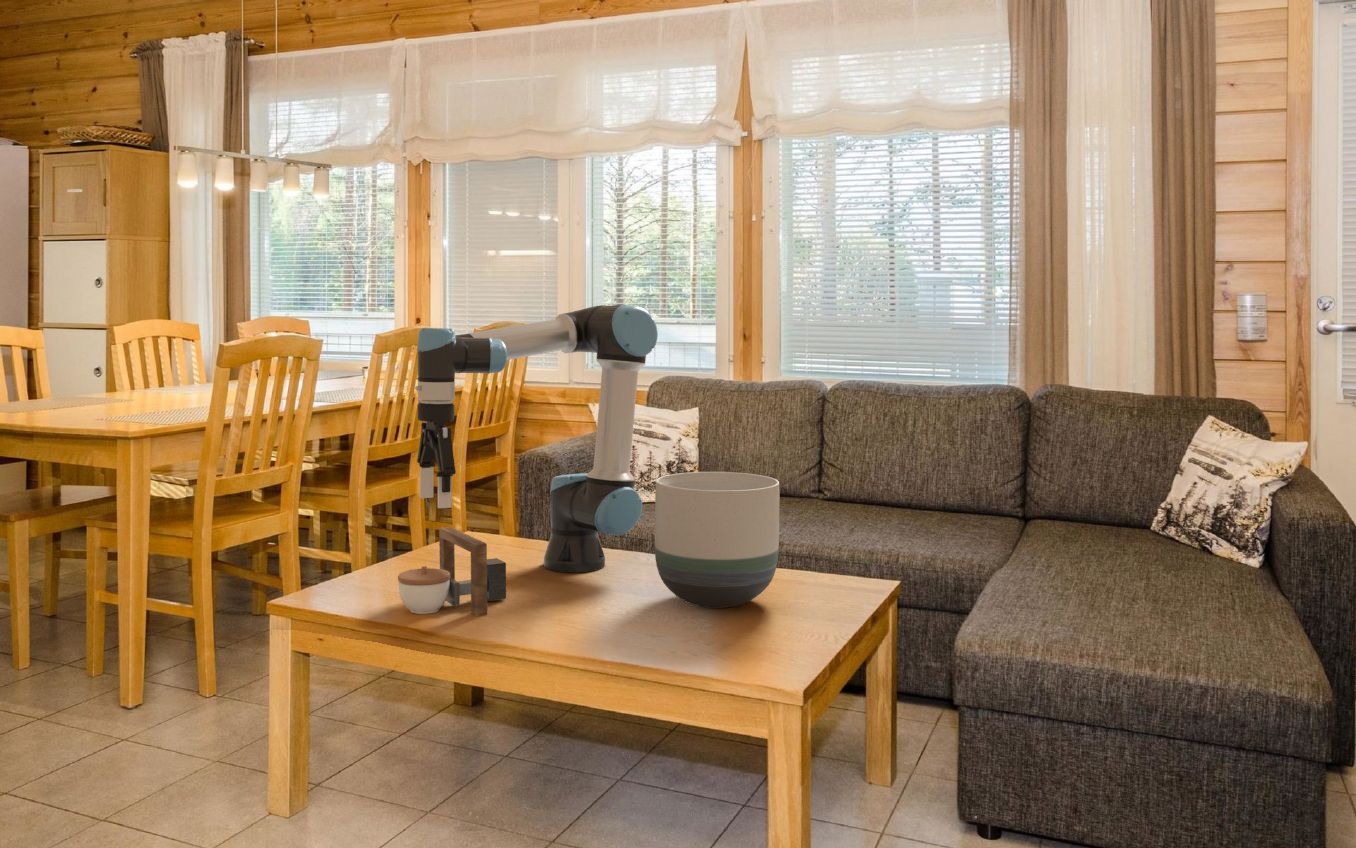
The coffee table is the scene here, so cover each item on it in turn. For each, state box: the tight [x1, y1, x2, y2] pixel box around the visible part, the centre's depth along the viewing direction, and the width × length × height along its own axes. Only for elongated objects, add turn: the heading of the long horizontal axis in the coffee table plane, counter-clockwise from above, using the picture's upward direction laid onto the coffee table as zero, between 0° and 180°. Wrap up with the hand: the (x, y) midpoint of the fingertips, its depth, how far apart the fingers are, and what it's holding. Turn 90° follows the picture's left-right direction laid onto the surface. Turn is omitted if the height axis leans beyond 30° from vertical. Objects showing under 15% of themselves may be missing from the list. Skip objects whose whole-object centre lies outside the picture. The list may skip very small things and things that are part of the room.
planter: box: [654, 471, 781, 609], centre depth 235 cm, size 27×27×27 cm
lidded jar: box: [397, 565, 450, 615], centre depth 228 cm, size 11×11×9 cm
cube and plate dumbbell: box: [446, 557, 507, 607], centre depth 235 cm, size 12×9×8 cm
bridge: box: [438, 526, 488, 617], centre depth 233 cm, size 2×20×15 cm, turn 33°
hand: (435, 502), depth 228 cm, fingers open, 13 cm apart
